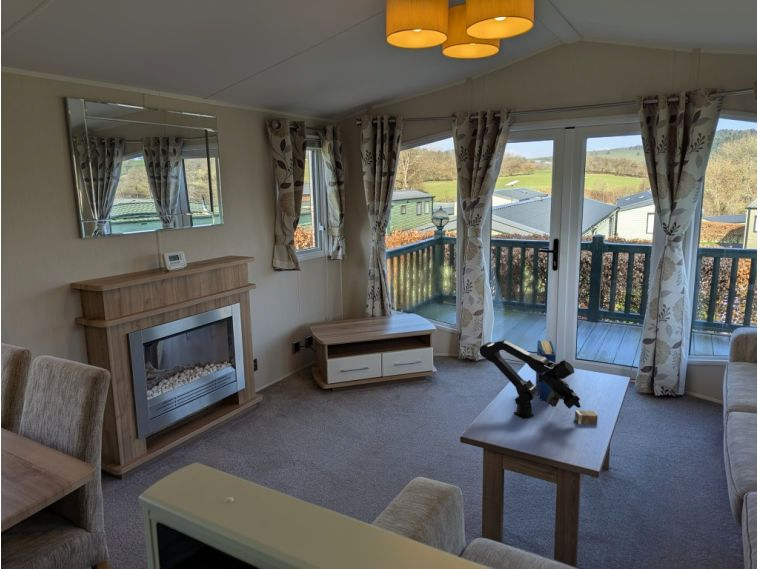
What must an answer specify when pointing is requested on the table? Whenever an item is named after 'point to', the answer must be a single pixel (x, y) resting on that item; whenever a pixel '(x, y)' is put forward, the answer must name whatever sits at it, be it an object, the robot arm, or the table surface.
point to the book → (543, 388)
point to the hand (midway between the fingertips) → (579, 407)
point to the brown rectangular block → (586, 417)
